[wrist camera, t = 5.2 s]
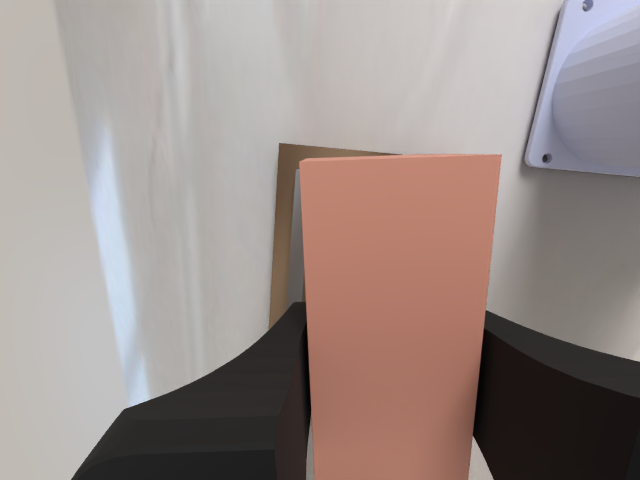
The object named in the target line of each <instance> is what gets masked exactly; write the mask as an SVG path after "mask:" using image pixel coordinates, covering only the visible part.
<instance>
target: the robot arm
mask: <svg viewBox="0 0 640 480" xmlns="http://www.w3.org/2000/svg"><path fill="white" fill-rule="evenodd" d="M583 3H585V4H586V6H587V10H586V12H585V11H583V9H582V4H583ZM545 154H546V155H547V160H546V161H545V162H544V163H543V161H542V158H543V156H544V155H545ZM524 160H525V163H526V164H527V165H528V166H530V167H538V168H548V169H559V170H570V171H580V172H591V173H602V174H613V175H623V176H634V177H640V0H565V1H564V2H563V4H562V7H561V11H560V15H559V19H558V23H557V27H556V31H555V35H554V39H553V43H552V47H551V51H550V55H549V60H548V64H547V68H546V72H545V76H544V80H543V84H542V88H541V92H540V96H539V100H538V104H537V108H536V112H535V116H534V121H533V125H532V129H531V133H530V137H529V141H528V145H527V149H526V153H525V159H524ZM310 418H311V392H310V372H309V352H308V331H307V311H306V302H294V303H293V304H292V305H291V306H290V307H289V308H288V309H287V310H286V312H285V313H284V314H283V315H282V316H281V318H280V319H279V320H278V321H277V322H276V323H275V324H274V325H273V326H272V327H271V328H270V330H269V331H268V332H266V333H265V334H264V335H263V336H262V337H261V338H260V339H259V340H258V341H257V342H256V343H254V344H253V345H252V346H251V347H249V348H248V349H247V350H246V351H244V352H243V353H241V354H240V355H239V356H237V357H236V358H234V359H233V360H231V361H230V362H228V363H226V364H225V365H223V366H221V367H220V368H218V369H216V370H215V371H213V372H211V373H210V374H208V375H206V376H204V377H202V378H200V379H198V380H196V381H194V382H192V383H190V384H188V385H186V386H183V387H181V388H179V389H177V390H174V391H172V392H170V393H167V394H165V395H162V396H159V397H157V398H154V399H151V400H149V401H146V402H143V403H140V404H138V405H135V406H132V407H129V408H126V409H124V410H123V411H122V412H121V413H120V415H119V416H118V417H117V418H116V420H115V421H114V422H113V423H112V425H111V426H110V427H109V429H108V430H107V431H106V433H105V434H104V435H103V437H102V438H101V439H100V441H99V442H98V443H97V445H96V446H95V447H94V449H93V450H92V451H91V453H90V454H89V455H88V457H87V458H86V459H85V461H84V462H83V464H82V465H81V466H80V468H79V469H78V470H77V472H76V473H75V475H74V476H73V478H72V479H71V480H306V459H307V445H308V436H309V427H310ZM473 436H474V438H475V440H476V442H477V444H478V446H479V448H480V450H481V452H482V454H483V456H484V458H485V461H486V463H487V465H488V467H489V470H490V472H491V474H492V476H493V479H494V480H640V362H638V361H634V360H629V359H625V358H621V357H617V356H614V355H610V354H606V353H602V352H598V351H594V350H591V349H587V348H584V347H581V346H577V345H574V344H571V343H568V342H565V341H562V340H559V339H556V338H553V337H550V336H547V335H544V334H542V333H539V332H536V331H534V330H531V329H529V328H526V327H524V326H521V325H519V324H516V323H514V322H512V321H509V320H507V319H505V318H502V317H500V316H498V315H496V314H493V313H491V312H489V311H487V310H486V311H485V321H484V330H483V340H482V350H481V360H480V369H479V379H478V389H477V398H476V408H475V418H474V428H473Z"/></svg>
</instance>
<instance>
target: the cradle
mask: <svg viewBox="0 0 640 480" xmlns="http://www.w3.org/2000/svg"><path fill="white" fill-rule="evenodd" d="M387 155H400V154H389V153H379V152H368V151H357V150H346V149H336V148H325V147H314V146H304V145H293V144H282V143H279V158H278V176H277V194H276V212H275V230H274V249H273V267H272V285H271V303H270V322H269V330H270V328H271V327H272V326H273V325H274V324H275V323H276V322H277V321H278V320H279V319H280V318H281V316H282V315H283V314H284V313H285V312H286V310H287V309H288V308H289V307H290V306H291V305H292V304H293V303H294V302H306V290H305V270H304V249H303V229H302V209H301V188H300V168H299V162H300V161H302V160H304V159H307V158H331V157H359V156H387Z"/></svg>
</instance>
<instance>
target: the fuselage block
mask: <svg viewBox="0 0 640 480" xmlns="http://www.w3.org/2000/svg"><path fill="white" fill-rule="evenodd" d="M500 165H501V155H486V154H416V155H387V156H359V157H331V158H307V159H304V160H302V161H300V162H299V168H300V188H301V209H302V229H303V249H304V270H305V290H306V311H307V331H308V352H309V372H310V392H311V413H312V433H313V454H314V474H315V480H468V476H469V466H470V457H471V447H472V437H473V428H474V418H475V408H476V398H477V389H478V379H479V369H480V360H481V350H482V340H483V330H484V321H485V311H486V301H487V292H488V282H489V272H490V262H491V253H492V243H493V233H494V223H495V214H496V204H497V194H498V185H499V175H500Z"/></svg>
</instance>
